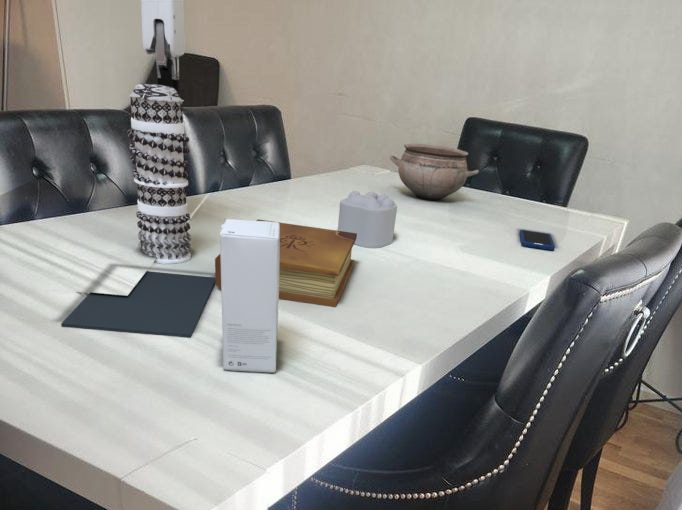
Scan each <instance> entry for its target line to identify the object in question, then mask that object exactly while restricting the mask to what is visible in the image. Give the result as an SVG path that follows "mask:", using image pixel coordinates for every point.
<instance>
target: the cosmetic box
mask: <svg viewBox="0 0 682 510" xmlns="http://www.w3.org/2000/svg"><path fill="white" fill-rule="evenodd" d="M266 221H267V220H266ZM266 221H256V220H245V219H234V218H233V219H232V218H226V219H225V221H224V223H223V224H221V225H220V228H221V230H220V233H219V251H220V253H219V254H220V257H221V290H220V293H221V322H222V323H221V325H222V367H223V370H226V371H232V372H233V371H234V372H250V373H251V372H252V373H276V371H277V355H278V333H279V331H278V329H279V328H278V327H279V300H280V299H279V260H280V225H279V223H277V222H278V221H273V222H266Z"/></svg>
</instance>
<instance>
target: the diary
mask: <svg viewBox="0 0 682 510" xmlns="http://www.w3.org/2000/svg"><path fill="white" fill-rule="evenodd" d="M255 221H266V222H274V221H273V220H264V219H260V218H259V219H256V220H255ZM276 222H277V223H279V225H280V260H279V300H285V301H292V302H298V303H305V304H312V305H319V306H325V307H334V308H336V307H337V306H338V303H339V301H340V299H341V296H342V294H343V291H344V289H345V287H346V284H347V283H348V280H349V278H350V275H351V273H352V270H353V268H354V266H355V259H352V252H353V247H354V245H355V244H354V243H355V241H356V239H357V233H351V232H344V231H338V229H337V230H336V229H328V228H321V227H314V226H308V225H300V224H295V223H294V224H293V223H288V222H287V223H286V222H280V221H279V222H278V221H276ZM214 258H215V259H214V271H215V272H214V274H215V275H214V276H215V285H216V286H217V287H218V289H219V290H220V291H221V257H220V253H219V254H218V255H217V256H216V257H214Z"/></svg>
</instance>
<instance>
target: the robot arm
mask: <svg viewBox="0 0 682 510" xmlns="http://www.w3.org/2000/svg"><path fill="white" fill-rule="evenodd" d="M184 5H185V3H184V0H140V10H141V38H142V39H141V40H142V50H143V52H144V53H145V54H146V55H155V65H156V74H157V78H156V80H157V85H163V86H169V87H173V88H174V89H175V90H176V91H177V93H178V95H179V97H180V98H181V97H182V96H181V80H180V57H182V56H183V55H184V54H185V53H186V27H185V26H186V25H185V23H186V22H185V6H184ZM181 99H182V98H181Z"/></svg>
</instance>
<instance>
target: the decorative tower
mask: <svg viewBox="0 0 682 510" xmlns="http://www.w3.org/2000/svg"><path fill="white" fill-rule="evenodd" d="M127 96H128V97H130V109H131V110H130V111H131V118H130V124H131V125H130V127H129V129H128V130H126V131H127V132H126V134H127V137H128V138H129V139H131V140H132V142H131V143H130V145H129V146H128V148H129V150H130V153H131V155H130V157H129V158H130V163H131V164H133V165H134V166H135V167H134V168H133V170H132V172H131V173H132V175H133V182H134V183H136V186H137V188H136V189H137V201H136V203H137V211H136V213H135V214H136V217H137V218H138V219H139V221H137V222H136V224H137V228H138V229H139V231H138V233H137V238H138V240H139V241H138V248H139V249H140V251H141V252H142V253H144V254H145V255H146V256H150V257H152V258H153V257H154V258H156V259H154V261H153V263H156V264H164V265H172V264H173V265H174V264H182V263H186V262H188V261H190V260H191V259H192V254H191V250H192V244H191V243H190V242H191V241H192V236H191V234H190V233H189V232H188V231H189V230H191V224H190V223H189V222H188V221H190V220H191V216H190V214H189V213H188V212H189V211H188V201H187V189H186V187H188V186H189V180H188V178H190V173H189V172H188V171H187V170H185V169H187V168H189V166H190V163H189V162H188V161H187V160H186V159H185V158H184V156H185V155H188V154H189V153H190V149H189V148H188V147H187V146H186V144H187V143H189V142H190V137H189V136H187V135H186V134H185V122H184V114H183V102H185V100H184V99H182V98H180V97H181V96H180V97H179V95H178V93H177V91H176V90H175V89H174V88H173V87H169V86H163V85H158V84H155V83H137V84H136V85H135V86H134V88H133V90H132V93H128V94H127Z"/></svg>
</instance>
